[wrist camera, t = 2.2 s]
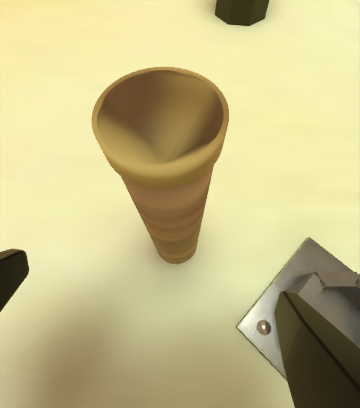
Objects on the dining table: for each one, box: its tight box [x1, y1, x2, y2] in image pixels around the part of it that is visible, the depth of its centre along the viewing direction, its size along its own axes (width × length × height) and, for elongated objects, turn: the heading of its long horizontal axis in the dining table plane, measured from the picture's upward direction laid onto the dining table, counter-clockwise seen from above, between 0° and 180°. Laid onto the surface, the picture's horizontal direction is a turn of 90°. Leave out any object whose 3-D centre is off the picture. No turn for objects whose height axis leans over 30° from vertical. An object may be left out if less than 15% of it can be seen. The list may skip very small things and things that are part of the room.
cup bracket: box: [236, 237, 360, 379], centre depth 16 cm, size 10×10×3 cm
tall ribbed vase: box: [92, 67, 229, 264], centre depth 13 cm, size 4×4×15 cm
